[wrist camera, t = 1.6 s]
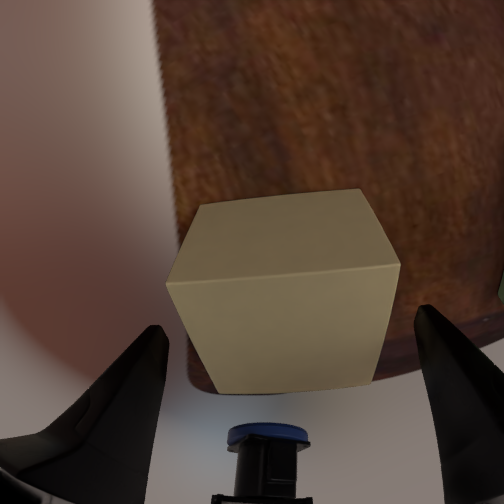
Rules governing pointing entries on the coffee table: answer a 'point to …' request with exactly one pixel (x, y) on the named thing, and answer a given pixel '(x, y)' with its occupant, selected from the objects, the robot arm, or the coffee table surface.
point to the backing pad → (501, 290)
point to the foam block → (286, 291)
